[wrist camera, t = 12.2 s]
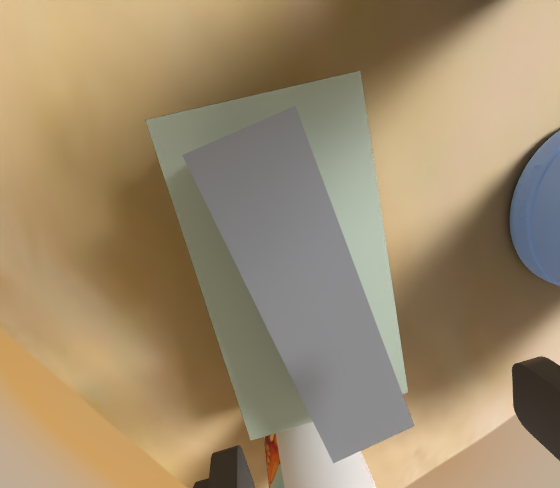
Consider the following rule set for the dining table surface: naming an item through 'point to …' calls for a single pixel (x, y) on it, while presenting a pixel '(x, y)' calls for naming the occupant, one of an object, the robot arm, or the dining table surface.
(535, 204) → the water jug
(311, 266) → the grey rectangular brick
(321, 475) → the milk bottle
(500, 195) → the dining table surface
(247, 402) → the sage shelf
